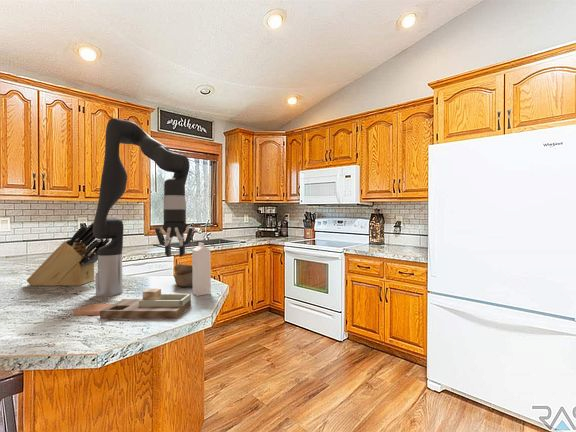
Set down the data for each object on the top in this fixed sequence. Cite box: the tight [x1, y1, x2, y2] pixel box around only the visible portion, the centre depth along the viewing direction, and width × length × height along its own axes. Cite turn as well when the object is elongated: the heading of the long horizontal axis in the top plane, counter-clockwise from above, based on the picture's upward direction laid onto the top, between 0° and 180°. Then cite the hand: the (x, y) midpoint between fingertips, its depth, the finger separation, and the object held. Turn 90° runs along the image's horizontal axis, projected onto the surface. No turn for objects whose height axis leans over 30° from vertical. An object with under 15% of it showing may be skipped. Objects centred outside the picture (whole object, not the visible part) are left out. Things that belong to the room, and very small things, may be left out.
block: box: [142, 288, 162, 300], centre depth 111 cm, size 4×4×4 cm
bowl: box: [173, 263, 193, 288], centre depth 147 cm, size 18×14×10 cm
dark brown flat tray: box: [99, 298, 192, 320], centre depth 108 cm, size 26×14×2 cm, turn 89°
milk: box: [191, 241, 212, 297], centre depth 133 cm, size 6×6×22 cm
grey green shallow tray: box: [139, 293, 192, 307], centre depth 111 cm, size 15×9×2 cm, turn 89°
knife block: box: [26, 221, 111, 287], centre depth 153 cm, size 11×35×31 cm, turn 89°
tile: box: [73, 303, 114, 316], centre depth 110 cm, size 9×9×1 cm
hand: (175, 256), depth 111 cm, fingers open, 4 cm apart
